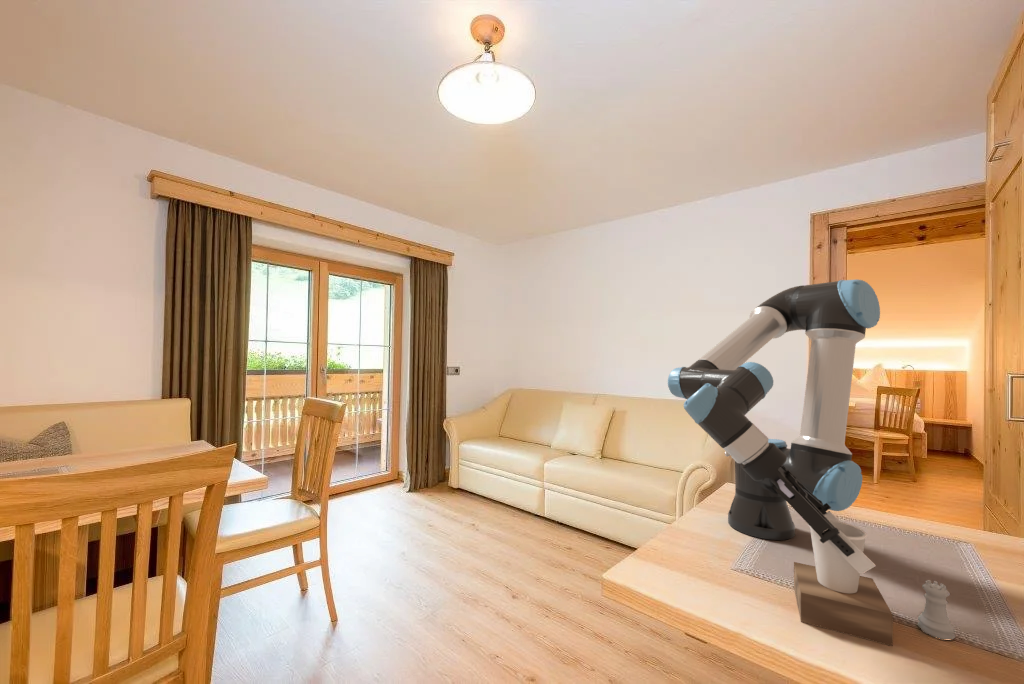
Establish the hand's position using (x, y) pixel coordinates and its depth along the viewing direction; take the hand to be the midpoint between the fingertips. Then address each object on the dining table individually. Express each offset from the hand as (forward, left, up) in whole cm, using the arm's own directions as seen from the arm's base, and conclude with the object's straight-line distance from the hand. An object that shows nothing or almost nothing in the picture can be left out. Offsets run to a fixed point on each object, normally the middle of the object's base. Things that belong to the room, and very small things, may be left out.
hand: (860, 556), depth 73 cm
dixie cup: (+2, -3, -6) cm, 7 cm away
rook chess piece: (-8, +7, -11) cm, 15 cm away
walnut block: (+2, -2, -11) cm, 11 cm away
